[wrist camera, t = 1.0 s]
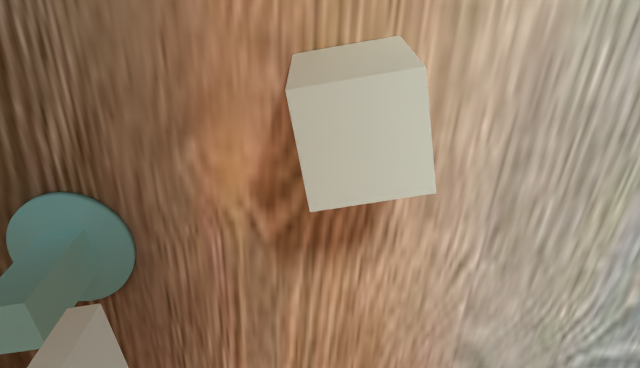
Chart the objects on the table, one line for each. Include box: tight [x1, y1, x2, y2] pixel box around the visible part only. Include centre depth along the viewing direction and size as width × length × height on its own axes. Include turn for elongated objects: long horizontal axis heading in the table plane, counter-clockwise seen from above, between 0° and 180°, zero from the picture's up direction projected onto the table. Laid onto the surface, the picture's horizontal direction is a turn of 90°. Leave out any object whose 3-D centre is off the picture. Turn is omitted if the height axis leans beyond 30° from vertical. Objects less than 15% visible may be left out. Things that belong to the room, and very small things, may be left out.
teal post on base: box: [0, 192, 136, 354], centre depth 27 cm, size 7×7×7 cm
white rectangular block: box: [285, 35, 436, 212], centre depth 23 cm, size 5×5×7 cm
